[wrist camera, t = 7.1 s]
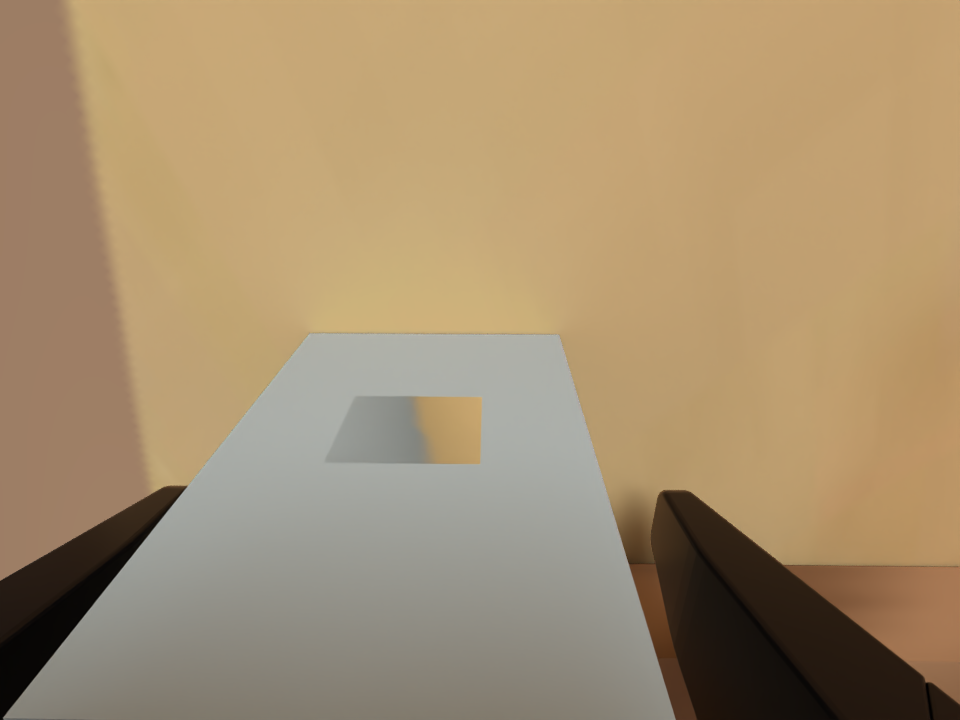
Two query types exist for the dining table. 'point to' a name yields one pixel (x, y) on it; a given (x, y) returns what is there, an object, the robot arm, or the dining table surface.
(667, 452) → the dining table surface
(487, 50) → the dining table surface
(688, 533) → the robot arm
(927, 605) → the board
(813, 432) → the dining table surface
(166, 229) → the dining table surface
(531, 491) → the light blue block
